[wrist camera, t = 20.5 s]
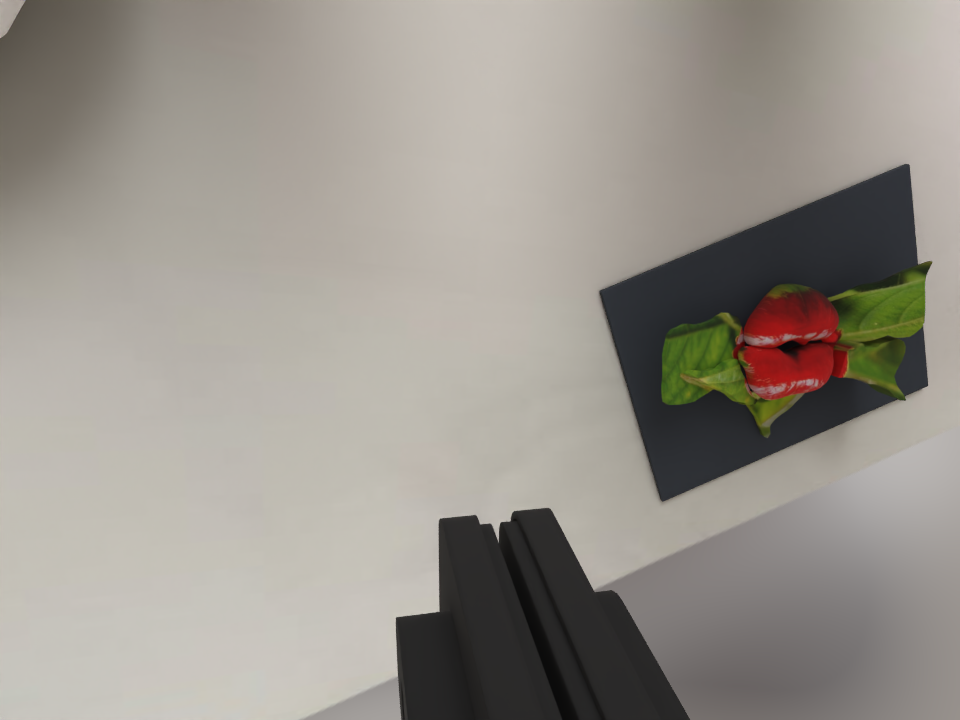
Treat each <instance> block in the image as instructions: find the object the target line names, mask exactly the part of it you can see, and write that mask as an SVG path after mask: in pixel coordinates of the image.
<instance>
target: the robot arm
mask: <svg viewBox="0 0 960 720" xmlns="http://www.w3.org/2000/svg"><path fill="white" fill-rule="evenodd" d="M439 603H440V612H436V613H428V614H420V615H412V616H404V617H396V640H397V663H398V679H399V680H398V681H399V695H400V707H401V719H402V720H690V719H689V717H688V715H687V713H686V712H685V710H684V708H683V706H682V705H681V703H680V701H679V699H678V698H677V696H676V694H675V692H674V691H673V689H672V687H671V685H670V684H669V682H668V680H667V678H666V677H665V675H664V673H663V671H662V670H661V668H660V666H659V664H658V663H657V661H656V659H655V657H654V656H653V654H652V652H651V650H650V649H649V647H648V645H647V644H646V641H645V640H644V638H643V636H642V634H641V633H640V631H639V629H638V627H637V626H636V624H635V622H634V620H633V619H632V617H631V615H630V613H629V612H628V610H627V609H626V606H625V605H624V603H623V601H622V600H621V598H620V597H619V596H618V594H617V593H615V592H614V591H612V590H610V591H602V592H594V590H593V588H592V587H591V585H590V583H589V581H588V579H587V577H586V575H585V573H584V571H583V569H582V567H581V566H580V564H579V562H578V560H577V558H576V556H575V554H574V552H573V550H572V548H571V546H570V544H569V543H568V541H567V539H566V537H565V535H564V533H563V531H562V529H561V527H560V525H559V523H558V522H557V520H556V518H555V516H554V514H553V512H552V511H551V509H549V508H542V509H532V510H522V511H514V512H513V513H512V516H511V521H510V522H501V523H500V528H499V543H498V540H497V537H496V535H495V532H494V529H493V527H492V525H491V524H481V525H480V523H479V520H478V518H477V516H476V515H472V516H462V517H452V518H442V519H440V520H439Z"/></svg>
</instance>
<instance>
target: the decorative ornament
mask: <svg viewBox="0 0 960 720" xmlns="http://www.w3.org/2000/svg"><path fill="white" fill-rule="evenodd" d="M931 264H932V262H931V261H928V262H925V263H922V264H919V265H916V266H913V267H911V268H908V269H904V270H902V271H900V272H898V273H896V274H894V275H891V276H889V277H887V278H885V279H883V280H881V281H877V282H873V283H865V284H861V285H857V286H855V287H853V288H851V289H849V290H847V291H845V292H844V293H841V294H838V295H835V296H832V297H829V298H827V297H826V296H825V295H824V294H823V293H821V292H819V291H818V290H816V289H812V288H811V287H806V286H802V285H798V284H780V285H777V286H775V287H774V288H772V289H771V290H770V291H769V292H768V293H767V294H766V295H765V296H764V298H763V299H762V300H761V301H760V303H759V304H758V305H757V307H756V308H755V309H754V311H753V312H752V314H751V315H750V317H749V318H748V320H747V322H746V325H745V327H744V334H743V330H742V326H741V323H740V320H739V318H738V317H737V316H733V315H731V314H730V313H720V314H718V315H716V316H714V317H713V318H712V319H710V320H707V321H705V322H702V323H699V324H687V323H686V324H681V325H679V326H677V327H675V328H672V329H670V330H669V331H668V333H667V334H666V337H665V342H664V347H663V352H662V383H661V393H662V402H664V403H665V404H667V405H680V404H687V403H691V402H694V401H696V400H697V399H699V398H701V397H702V396H704V395H705V394H707V393H709V392H710V391H712V390H713V389H715V390H717V391H720V392H722V393H724V394H725V395H726V396H727V397H728V398H729V399H731V400H732V401H735V402H740V403H739V404H744V405H746V406H747V407H748V408H749V410H750V411H751V413H752V414H753V416H754V418H755V421H756V423H757V426H758V428H759V431H760V434H761V435H763V436H764V437H766V438H768V437H769V435H770V434H771V433H770V425H771V424H772V422H773V421H774V420H775V419H776V418H777V417H779V416H780V415H781V414H783V413H784V412H786V411H787V410H788V409H790V408H791V407H792V406H793V405H794V404H795V403H796V402H797V401H798V400H799V399H800V398H801V397H802V395H803V394H804V393H807V392H811V391H814V390H817V389H819V388H821V387H822V386H823V385H824V384H825V383H826V382H827V381H828V379H829V378H830V375H832V376H835V377H838V378H843V377H847V378H853V379H857V380H859V381H862V382H865V383H868V384H869V386H870V387H872V388H873V389H874V390H876V391H877V392H880V393H882V394H885V395H888V396H890V397H893V398H896V399H899V400H906V399H905V396H904V394H903V393H902V392H901V390H900V389H899V388H898V386H897V384H896V381H895V377H894V376H895V373H896V371H897V369H898V367H899V366H900V364H901V362H902V359H903V357H904V354H905V349H906V346H905V343H904V341H902V340H900V339H897V338H904V337H910V336H912V335H913V334H915V333H916V332H917V331H918V330H920V329H921V328H922V326H923V323H924V319H925V279H926V274H927V272H928V270H929V268H930V266H931ZM887 335H889V336H887ZM890 336H891V337H890ZM792 340H793V341H796V342H798V343H799V344H800V345H797V346H794V347H792V348H790V349H788V350H786V351H784V352H782V351H781V350H780V349H778V348H776V347H777V346H780V345H782V344H784V343H785V342H788V341H792ZM811 340H814V341H817V340H821V341H822V342H817V343H808V341H811ZM745 342H746V343H747V344H749V345H751V346H745ZM740 364H741V365H742V366H743V368H744V370H745V373H746V378H747V380H746V379H745V377H744V375H743V373H742V371H741V367H740ZM747 382H748V383H747ZM748 385H749V386H750V388H751V389H752V390H753V391H750V389H749V387H748Z"/></svg>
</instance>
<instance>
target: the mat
mask: <svg viewBox="0 0 960 720" xmlns="http://www.w3.org/2000/svg"><path fill="white" fill-rule="evenodd" d="M916 265H918V260H917V248H916V236H915V225H914V213H913V201H912V189H911V177H910V165H909V164H904V165H902V166H900V167H897V168H895V169H892V170H890V171H888V172H885V173H883V174H880V175H878V176H876V177H873V178H871V179H868V180H866V181H863V182H861V183H859V184H856V185H854V186H851V187H849V188H847V189H844V190H842V191H839V192H837V193H835V194H832V195H830V196H827V197H825V198H822V199H820V200H818V201H815V202H813V203H810V204H808V205H806V206H803V207H801V208H798V209H796V210H794V211H791V212H789V213H786V214H784V215H782V216H779V217H777V218H774V219H772V220H769V221H767V222H765V223H762V224H760V225H757V226H755V227H753V228H750V229H748V230H745V231H743V232H741V233H738V234H736V235H733V236H731V237H729V238H726V239H724V240H721V241H719V242H716V243H714V244H712V245H709V246H707V247H704V248H702V249H700V250H697V251H695V252H692V253H690V254H688V255H685V256H683V257H680V258H678V259H675V260H673V261H671V262H668V263H666V264H663V265H661V266H659V267H656V268H654V269H651V270H649V271H647V272H644V273H642V274H639V275H637V276H635V277H632V278H630V279H627V280H625V281H622V282H620V283H618V284H615V285H613V286H610V287H608V288H606V289H603V290H601V291H600V295H601V298H602V302H603V305H604V308H605V312H606V315H607V319H608V322H609V325H610V329H611V332H612V336H613V339H614V342H615V346H616V349H617V353H618V356H619V359H620V363H621V366H622V370H623V373H624V376H625V380H626V383H627V387H628V390H629V393H630V397H631V400H632V404H633V407H634V410H635V414H636V417H637V420H638V424H639V427H640V431H641V434H642V437H643V441H644V444H645V448H646V451H647V454H648V458H649V461H650V465H651V468H652V471H653V475H654V478H655V482H656V485H657V488H658V492H659V495H660V499H661V500H662V501H665V500H668V499H670V498H672V497H674V496H677V495H679V494H681V493H684V492H686V491H688V490H691V489H693V488H695V487H697V486H700V485H702V484H704V483H707V482H709V481H711V480H713V479H716V478H718V477H720V476H723V475H725V474H727V473H730V472H732V471H734V470H736V469H739V468H741V467H743V466H746V465H748V464H750V463H752V462H755V461H757V460H759V459H762V458H764V457H766V456H768V455H771V454H773V453H775V452H778V451H780V450H782V449H785V448H787V447H789V446H791V445H794V444H796V443H798V442H801V441H803V440H805V439H807V438H810V437H812V436H814V435H817V434H819V433H821V432H824V431H826V430H828V429H830V428H833V427H835V426H837V425H840V424H842V423H844V422H846V421H849V420H851V419H853V418H856V417H858V416H860V415H862V414H865V413H867V412H869V411H872V410H874V409H876V408H879V407H881V406H883V405H885V404H888V403H890V402H892V401H895V400H897V399H896V398H893V397H890V396H888V395H885V394H882V393H880V392H877V391H876V390H874V389H873V388H872V387H870V386H869V384H868V383H865V382H862V381H859V380H857V379H853V378H847V377H843V378H838V377H835V376H832V375H830V378H829V379H828V381H827V382H826V383H825V384H824V385H823V386H822V387H821V388H819V389H817V390H814V391H811V392H807V393H804V394H803V395H802V397H801V398H800V399H799V400H798V401H797V402H796V403H795V404H794V405H793V406H792V407H791V408H790V409H788V410H787V411H786V412H784V413H783V414H781V415H780V416H779V417H777V418H776V419H775V420H774V421H773V422H772V424H771V425H770V433H771V434H770V435H769V437H768V438H766V437H764V436H763V435H761V434H760V431H759V428H758V426H757V423H756V421H755V418H754V416H753V414H752V413H751V411H750V410H749V408H748V407H747V406H746V405H744V404H739V403H740V402H735V401H732V400H731V399H729V398H728V397H727V396H726V395H725V394H724V393H722V392H720V391H717V390H715V389H713V390H712V391H710V392H709V393H707V394H705V395H704V396H702V397H701V398H699V399H697V400H696V401H694V402H691V403H687V404H680V405H667V404H665V403H664V402H662V393H661V383H662V352H663V347H664V342H665V337H666V334H667V333H668V331H669V330H670V329H672V328H675V327H677V326H679V325H681V324H686V323H687V324H699V323H702V322H705V321H707V320H710V319H712V318H713V317H714V316H716V315H718V314H720V313H730V314H731V315H733V316H737V317H738V318H739V320H740V323H741V326H742V330H743V334H744V327H745V325H746V322H747V320H748V318H749V317H750V315H751V314H752V312H753V311H754V309H755V308H756V307H757V305H758V304H759V303H760V301H761V300H762V299H763V298H764V296H765V295H766V294H767V293H768V292H769V291H770V290H771V289H772V288H774V287H775V286H777V285H780V284H798V285H802V286H806V287H811V288H812V289H816V290H818V291H819V292H821V293H823V294H824V295H825V296H826V297H827V298H829V297H832V296H835V295H838V294H841V293H844V292H845V291H847V290H849V289H851V288H853V287H855V286H857V285H861V284H865V283H873V282H877V281H881V280H883V279H885V278H887V277H889V276H891V275H894V274H896V273H898V272H900V271H902V270H904V269H908V268H911V267H913V266H916ZM887 336H889V335H887ZM890 337H891V336H890ZM897 339H900V340H902V341H904V343H905V346H906V349H905V354H904V357H903V359H902V362H901V364H900V366H899V367H898V369H897V371H896V373H895V376H894V377H895V381H896V384H897V386H898V388H899V389H900V390H901V392H902V393H903V394H904V396H906V395H908V394H911V393H913V392H915V391H917V390H920V389H922V388H924V387H927V386H928V378H927V367H926V355H925V343H924V331H923V326H922V328H921V329H920V330H918V331H917V332H916V333H915V334H913V335H912V336H910V337H904V338H897ZM817 342H822V341H821V340H817V341H814V340H811V341H808V343H817ZM797 345H800V344H799V343H798V342H796V341H793V340H792V341H788V342H785V343H784V344H782V345H780V346H777V347H776V348H778V349H780V350H781V351H782V352H784V351H786V350H788V349H790V348H792V347H794V346H797ZM745 346H751V345H749V344H747V343H746V342H745ZM740 367H741V371H742V373H743V375H744V377H745V379H746V380H747V378H746V373H745V370H744V368H743V366H742V365H741V364H740ZM747 383H748V382H747ZM748 387H749V389H750V391H753V390H752V389H751V388H750V386H749V385H748Z"/></svg>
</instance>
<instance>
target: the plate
mask: <svg viewBox="0 0 960 720" xmlns="http://www.w3.org/2000/svg"><path fill="white" fill-rule="evenodd" d="M24 2H25V0H0V38H1V37H3V36H4V35H5V34H6V33H7V32H8V31H9V29H10V27H11V25H12V23H13V22H14V20H15V18H16V16H17V14H18V13H19V11H20V9H21V7H22V6H23V4H24Z"/></svg>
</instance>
